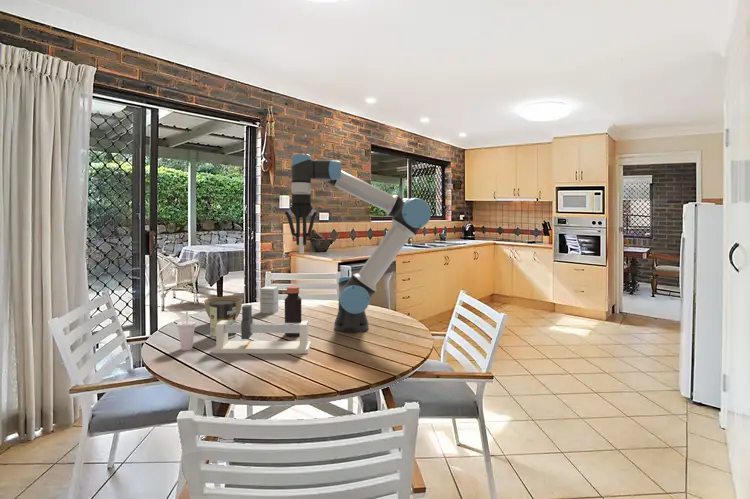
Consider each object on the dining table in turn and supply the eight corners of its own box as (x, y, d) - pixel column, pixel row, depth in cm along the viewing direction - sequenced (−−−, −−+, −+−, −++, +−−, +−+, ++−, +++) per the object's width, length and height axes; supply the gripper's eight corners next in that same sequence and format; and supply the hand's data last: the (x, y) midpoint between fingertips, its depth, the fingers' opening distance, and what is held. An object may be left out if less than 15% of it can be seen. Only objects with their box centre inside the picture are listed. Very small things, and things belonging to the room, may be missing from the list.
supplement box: (265, 310, 223) (264, 285, 222) (278, 310, 222) (278, 286, 221) (259, 313, 215) (259, 288, 214) (274, 313, 215) (273, 288, 214)
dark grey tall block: (252, 334, 161) (252, 304, 161) (248, 339, 155) (247, 308, 154) (246, 334, 161) (245, 304, 160) (241, 339, 155) (241, 308, 154)
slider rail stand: (311, 345, 164) (311, 319, 163) (307, 353, 154) (307, 326, 154) (221, 344, 163) (221, 318, 162) (212, 353, 153) (211, 325, 152)
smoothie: (184, 352, 153) (183, 314, 152) (173, 349, 157) (172, 311, 156) (199, 348, 159) (199, 310, 158) (189, 345, 162) (188, 308, 161)
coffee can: (241, 333, 179) (240, 300, 178) (228, 340, 169) (227, 305, 168) (219, 331, 181) (218, 298, 180) (204, 338, 171) (204, 303, 170)
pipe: (303, 331, 160) (303, 322, 160) (302, 333, 157) (302, 324, 157) (224, 330, 159) (224, 322, 159) (222, 333, 156) (222, 324, 156)
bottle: (281, 334, 178) (281, 287, 176) (294, 331, 183) (294, 285, 181) (291, 338, 173) (291, 289, 172) (304, 334, 178) (304, 287, 176)
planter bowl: (235, 328, 186) (235, 303, 186) (198, 327, 187) (198, 303, 186) (247, 319, 203) (247, 296, 202) (213, 318, 203) (213, 296, 202)
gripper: (318, 194, 173) (318, 252, 175) (286, 194, 173) (286, 252, 175) (316, 193, 166) (316, 254, 168) (283, 193, 165) (283, 254, 167)
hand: (301, 253), depth 171 cm, fingers closed
